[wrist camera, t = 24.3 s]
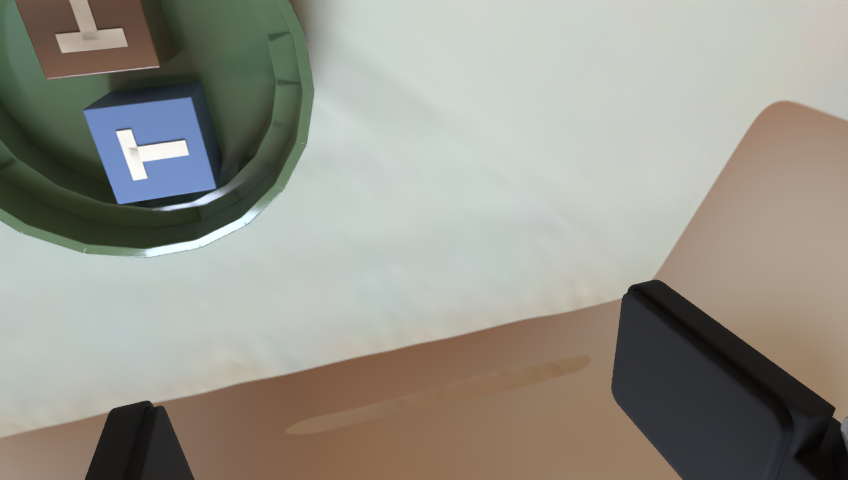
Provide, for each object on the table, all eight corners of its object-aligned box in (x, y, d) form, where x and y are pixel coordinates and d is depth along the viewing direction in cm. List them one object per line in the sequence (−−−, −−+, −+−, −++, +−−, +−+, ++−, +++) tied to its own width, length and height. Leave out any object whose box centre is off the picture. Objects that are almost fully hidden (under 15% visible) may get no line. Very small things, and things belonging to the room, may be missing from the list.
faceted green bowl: (-139, -116, 23) (-254, -147, 18) (270, -131, 27) (272, -159, 22) (32, 238, 32) (-14, 287, 26) (326, 189, 35) (336, 223, 30)
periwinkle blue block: (108, 92, 29) (81, 110, 24) (201, 81, 30) (191, 96, 26) (137, 175, 31) (117, 205, 27) (223, 162, 32) (216, 189, 28)
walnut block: (41, -37, 26) (-5, -43, 21) (147, -44, 27) (125, -51, 22) (79, 66, 28) (44, 80, 24) (175, 56, 29) (160, 67, 25)
